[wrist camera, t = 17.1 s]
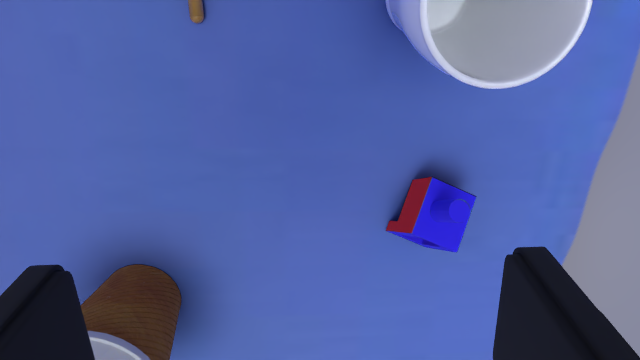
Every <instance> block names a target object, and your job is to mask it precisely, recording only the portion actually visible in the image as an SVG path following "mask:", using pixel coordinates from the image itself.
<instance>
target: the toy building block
mask: <svg viewBox="0 0 640 360" xmlns="http://www.w3.org/2000/svg"><path fill="white" fill-rule="evenodd" d="M475 199H476V196H475V195H472V194H470V193H468V192H465V191H463V190H461V189H459V188H456V187H454V186H452V185H450V184H447V183H445V182H443V181H441V180H438V179H436V178H434V177H428V178H421V179H415V180H413V181H412V183H411V186H410V189H409V191H408V194H407V197H406V200H405V202H404V205H403V208H402V210H401V213H400V216H399V218H398V221H389V224H388V226H387V229H386V231H388V232H390V233H393V234H395V235H398V236H400V237H402V238H405V239H407V240H410V241H412V242H414V243H417V244H419V245H422V246H424V247H427V248H433V249H439V250H445V251H451V252H457V251H458V248H459V245H460V242H461V240H462V237H463V234H464V231H465V228H466V225H467V222H468V219H469V217H470V214H471V211H472V208H473V205H474V202H475Z"/></svg>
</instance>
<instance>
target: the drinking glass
mask: <svg viewBox="0 0 640 360" xmlns="http://www.w3.org/2000/svg"><path fill="white" fill-rule="evenodd" d="M592 1H593V0H386V7H387V11H388V14H389V16H390V18H391V20H392V21H393V23H394V24H395V25H396V26H397V27H398V28H399V29H400V30H401V31H402V32H403V33H404V34H405V36H406V37H407V39H408V40H409V42H410V43H411V44H412V46H413V47H414V48H415V50H416V51H417V52H418V53H419V54H420V55H421V56H422V57H423V58H424V59H425V60H427V61H428V62H429V63H430V64H431V65H433V66H434V67H436V68H437V69H438V70H440V71H442V72H443V73H445V74H447V75H449V76H451V77H453V78H455V79H457V80H460V81H462V82H464V83H466V84H469V85H472V86H475V87H480V88H486V89H503V88H510V87H515V86H519V85H522V84H525V83H527V82H530V81H532V80H534V79H536V78H538V77H540V76H542V75H543V74H545V73H546V72H548V71H549V70H550V69H552V68H553V67H554V66H556V65H557V64H558V63H559V62H560V61H561V60H562V59H563V58H564V57H565V56H566V55H567V54H568V52H569V51H570V50H571V49H572V47H573V46H574V45H575V43H576V42H577V40H578V38H579V37H580V35H581V33H582V31H583V29H584V27H585V25H586V23H587V20H588V17H589V14H590V10H591V7H592Z"/></svg>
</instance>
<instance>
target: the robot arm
mask: <svg viewBox="0 0 640 360" xmlns="http://www.w3.org/2000/svg"><path fill="white" fill-rule="evenodd" d="M0 360H95V357H94V353H93V350H92V346H91V342H90V339H89V335H88V331H87V328H86V324H85V320H84V317H83V313H82V309H81V306H80V302H79V298H78V295H77V291H76V287H75V284H74V280H73V277H72V274H71V273H70V272H68V271H64V269H63V268H62V266H60V265H37V266H30V267H28V268H27V269H26V270H25V271H24V272H23V273H22V274H21V275H20V276H19V277H18V278H17V279H16V280H15V281H14V282H13V283H12V284H11V285H10V286H9V287H8V288H7V290H6V291H5V292H4V293H3V294H2V295H1V296H0ZM493 360H640V358H639V356H638V355H637V354H636V353H635V351H634V350H633V349H632V348H631V347H630V345H629V344H628V343H627V342H626V341H625V339H624V338H623V337H622V336H621V335H620V334H619V332H618V331H617V330H616V329H615V328H614V326H613V325H612V324H611V323H610V322H609V321H608V319H607V318H606V317H605V316H604V315H603V314H602V313H601V312H600V311H599V310H598V309H597V308H596V307H595V306H594V304H593V303H592V302H591V301H590V300H589V299H588V297H587V296H586V295H585V294H584V292H583V291H582V290H581V289H580V288H579V287H578V285H577V284H576V283H575V282H574V281H573V280H572V278H571V277H570V276H569V275H568V273H567V272H566V271H565V270H564V269H563V267H562V266H561V265H560V264H559V263H558V261H557V260H556V259H555V258H554V257H553V255H552V254H551V253H550V252H549V251H548V249H546V248H545V247H520V248H516V249H515V250H514V252H513V255H507V256H506V258H505V263H504V270H503V278H502V286H501V294H500V301H499V309H498V317H497V325H496V332H495V340H494V348H493Z"/></svg>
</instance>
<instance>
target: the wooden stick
mask: <svg viewBox="0 0 640 360" xmlns="http://www.w3.org/2000/svg"><path fill="white" fill-rule="evenodd" d="M188 4H189V13H190V19H191V20H192V21H193V22H194V23H201V22H202V21H203V19H204V12H203V2H202V0H188Z"/></svg>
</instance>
